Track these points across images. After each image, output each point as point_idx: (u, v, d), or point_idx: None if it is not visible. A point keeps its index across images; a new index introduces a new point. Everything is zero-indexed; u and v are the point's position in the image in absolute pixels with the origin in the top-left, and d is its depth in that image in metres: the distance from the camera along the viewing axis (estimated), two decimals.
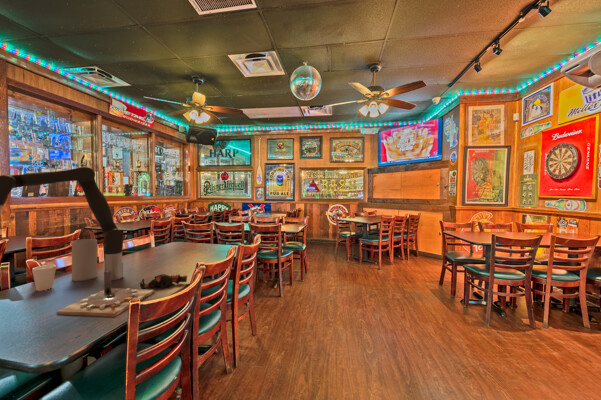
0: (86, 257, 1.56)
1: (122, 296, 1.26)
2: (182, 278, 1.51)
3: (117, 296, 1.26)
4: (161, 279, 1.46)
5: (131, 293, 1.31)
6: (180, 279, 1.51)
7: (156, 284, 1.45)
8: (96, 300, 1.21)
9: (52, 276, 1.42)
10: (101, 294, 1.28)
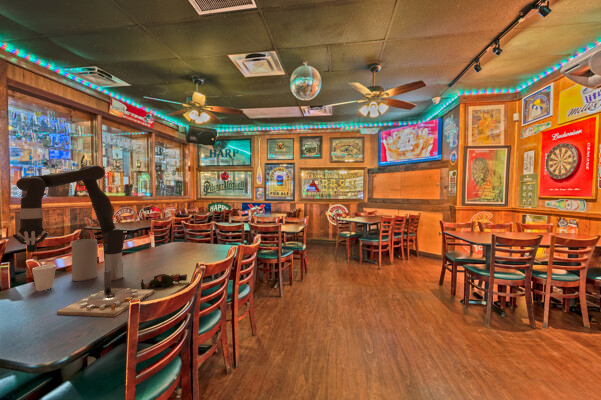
0: (86, 257, 1.56)
1: (122, 296, 1.26)
2: (183, 277, 1.54)
3: (117, 296, 1.26)
4: (162, 278, 1.47)
5: (131, 293, 1.31)
6: (181, 278, 1.53)
7: (157, 284, 1.46)
8: (96, 300, 1.21)
9: (52, 276, 1.42)
10: (101, 294, 1.28)
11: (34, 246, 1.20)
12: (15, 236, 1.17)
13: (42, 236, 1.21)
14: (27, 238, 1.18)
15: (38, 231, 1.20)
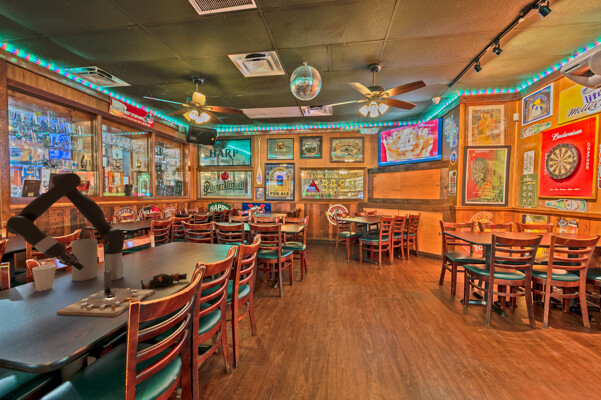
0: (86, 257, 1.56)
1: (122, 296, 1.26)
2: (183, 276, 1.55)
3: (117, 296, 1.26)
4: (163, 278, 1.48)
5: (131, 293, 1.31)
6: (181, 277, 1.55)
7: (158, 284, 1.46)
8: (96, 300, 1.21)
9: (52, 276, 1.42)
10: (101, 294, 1.28)
11: None
12: None
13: None
14: None
15: None
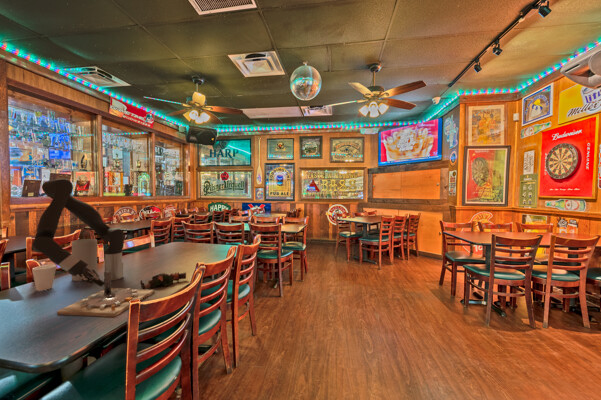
0: (86, 257, 1.56)
1: (122, 296, 1.26)
2: (182, 275, 1.57)
3: (117, 296, 1.26)
4: (163, 278, 1.48)
5: (131, 293, 1.31)
6: (181, 276, 1.56)
7: (158, 283, 1.47)
8: (96, 300, 1.21)
9: (52, 276, 1.42)
10: (101, 294, 1.28)
11: None
12: None
13: None
14: None
15: None
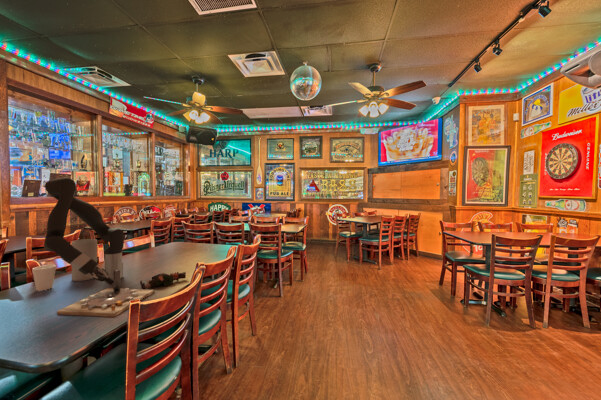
0: None
1: (118, 298, 1.24)
2: (182, 275, 1.58)
3: (114, 297, 1.25)
4: (163, 278, 1.49)
5: (128, 296, 1.27)
6: (180, 276, 1.57)
7: (158, 283, 1.47)
8: (96, 298, 1.23)
9: (52, 276, 1.42)
10: (108, 292, 1.31)
11: None
12: None
13: None
14: None
15: None
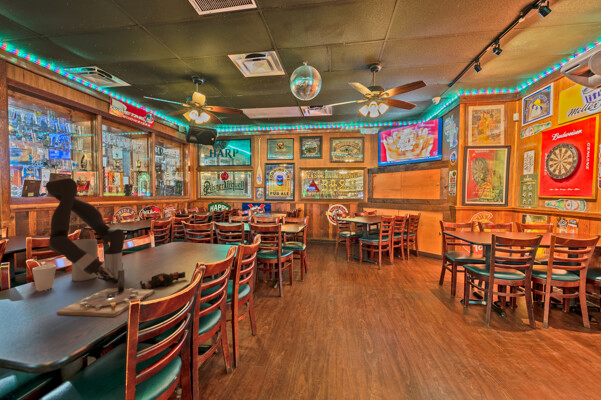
0: None
1: (115, 299, 1.23)
2: (182, 274, 1.58)
3: (113, 298, 1.24)
4: (164, 277, 1.49)
5: (126, 297, 1.25)
6: (180, 275, 1.58)
7: (159, 283, 1.47)
8: (97, 297, 1.24)
9: (52, 276, 1.42)
10: (112, 291, 1.32)
11: None
12: None
13: (101, 278, 1.28)
14: None
15: None
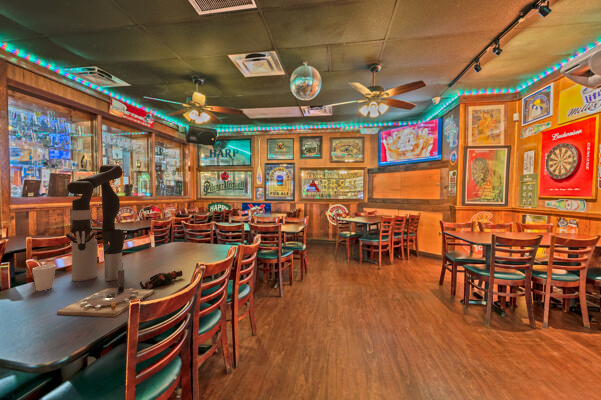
0: (86, 257, 1.56)
1: (115, 299, 1.23)
2: (179, 273, 1.61)
3: (113, 298, 1.24)
4: (164, 277, 1.50)
5: (126, 297, 1.25)
6: (178, 274, 1.60)
7: (160, 282, 1.48)
8: (97, 297, 1.24)
9: (52, 276, 1.42)
10: (112, 291, 1.32)
11: (84, 245, 1.30)
12: (68, 236, 1.27)
13: (91, 236, 1.31)
14: (78, 237, 1.29)
15: (87, 231, 1.31)
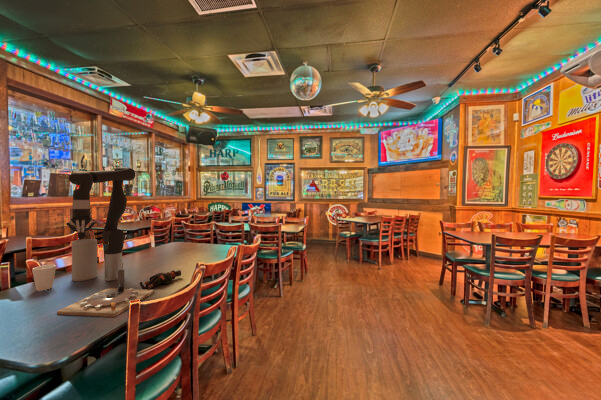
0: (86, 257, 1.56)
1: (115, 299, 1.23)
2: (178, 272, 1.62)
3: (113, 298, 1.24)
4: (164, 277, 1.51)
5: (126, 297, 1.25)
6: (177, 274, 1.61)
7: (160, 282, 1.48)
8: (97, 297, 1.24)
9: (52, 276, 1.42)
10: (112, 291, 1.32)
11: (83, 233, 1.35)
12: (68, 224, 1.32)
13: (90, 225, 1.36)
14: (78, 226, 1.34)
15: (87, 220, 1.36)
